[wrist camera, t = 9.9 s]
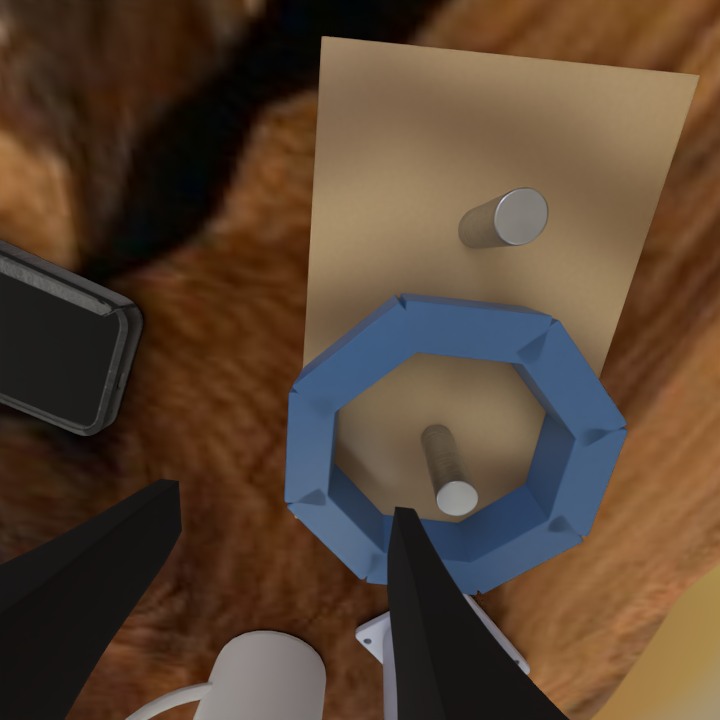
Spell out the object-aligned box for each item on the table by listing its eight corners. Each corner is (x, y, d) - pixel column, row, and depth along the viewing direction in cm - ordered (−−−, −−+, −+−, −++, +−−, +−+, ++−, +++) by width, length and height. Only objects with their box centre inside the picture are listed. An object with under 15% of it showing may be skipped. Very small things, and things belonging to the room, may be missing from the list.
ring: (619, 316, 15) (668, 328, 13) (538, 560, 19) (562, 605, 17) (306, 282, 15) (293, 287, 13) (292, 532, 19) (280, 573, 17)
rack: (533, 530, 20) (592, 633, 15) (298, 503, 20) (270, 595, 15) (674, 89, 14) (875, -22, 8) (325, 53, 14) (293, -81, 8)
